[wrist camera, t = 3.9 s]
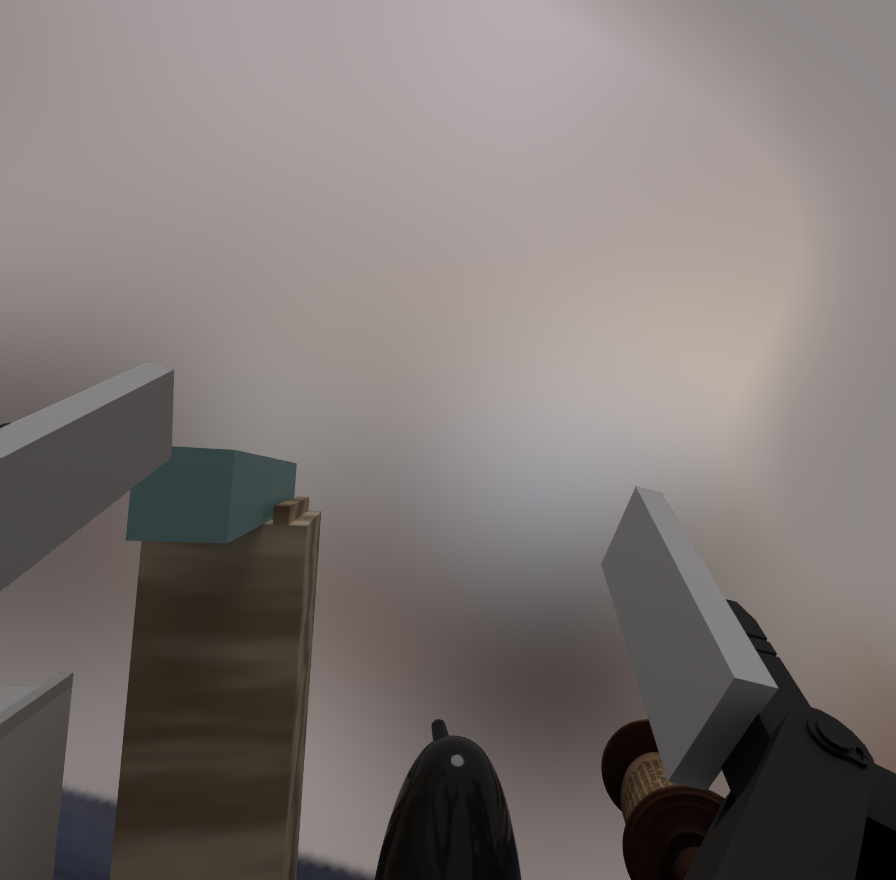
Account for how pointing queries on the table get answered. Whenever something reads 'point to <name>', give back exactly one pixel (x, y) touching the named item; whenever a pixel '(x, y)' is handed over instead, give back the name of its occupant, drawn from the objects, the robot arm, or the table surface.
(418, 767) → the pump dispenser
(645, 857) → the scroll
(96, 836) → the table surface
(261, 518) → the teal block
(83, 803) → the table surface
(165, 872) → the brown tall block
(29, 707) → the block
